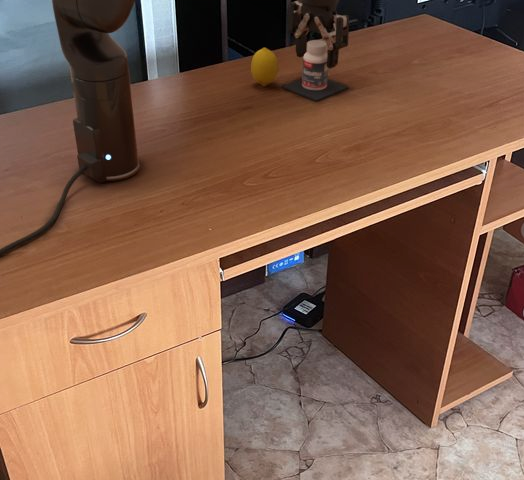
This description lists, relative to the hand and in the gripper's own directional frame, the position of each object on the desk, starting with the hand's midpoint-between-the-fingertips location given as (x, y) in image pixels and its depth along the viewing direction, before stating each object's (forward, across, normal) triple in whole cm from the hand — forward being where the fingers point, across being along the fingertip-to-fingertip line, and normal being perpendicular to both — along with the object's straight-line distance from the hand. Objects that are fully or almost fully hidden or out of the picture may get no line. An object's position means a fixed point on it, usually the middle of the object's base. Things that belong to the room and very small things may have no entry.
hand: (316, 61), depth 161 cm
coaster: (+6, 0, 0) cm, 6 cm away
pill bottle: (+5, 0, 0) cm, 5 cm away
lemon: (+6, -8, -7) cm, 12 cm away
